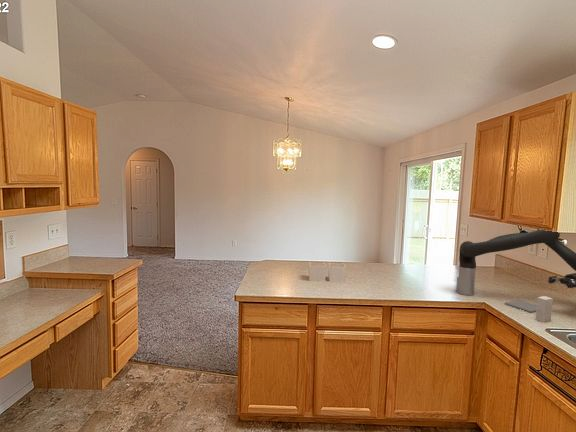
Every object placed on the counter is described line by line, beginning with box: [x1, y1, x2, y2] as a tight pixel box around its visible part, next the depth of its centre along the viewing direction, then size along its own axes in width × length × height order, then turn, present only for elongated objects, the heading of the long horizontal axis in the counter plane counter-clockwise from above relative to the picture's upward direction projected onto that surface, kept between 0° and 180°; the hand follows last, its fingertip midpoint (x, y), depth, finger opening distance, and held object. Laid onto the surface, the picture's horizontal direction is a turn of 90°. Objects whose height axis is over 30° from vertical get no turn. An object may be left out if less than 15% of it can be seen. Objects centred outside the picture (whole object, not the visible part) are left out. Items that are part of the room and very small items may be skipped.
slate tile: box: [504, 299, 537, 314], centre depth 186 cm, size 14×14×1 cm
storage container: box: [308, 261, 347, 283], centre depth 231 cm, size 25×11×11 cm, turn 88°
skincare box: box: [534, 295, 554, 323], centre depth 167 cm, size 6×4×12 cm
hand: (558, 283), depth 171 cm, fingers open, 8 cm apart
